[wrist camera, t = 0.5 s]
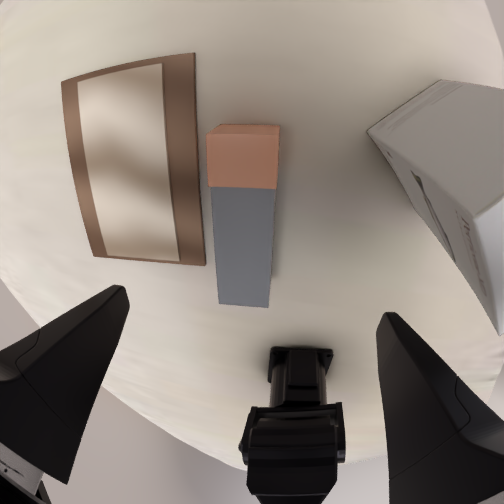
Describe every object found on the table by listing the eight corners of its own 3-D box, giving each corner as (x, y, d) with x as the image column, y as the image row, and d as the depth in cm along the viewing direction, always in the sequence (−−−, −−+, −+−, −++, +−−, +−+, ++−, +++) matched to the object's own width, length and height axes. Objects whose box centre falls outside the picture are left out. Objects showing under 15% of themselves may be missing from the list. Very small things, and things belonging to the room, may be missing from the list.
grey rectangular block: (272, 277, 24) (269, 309, 20) (226, 273, 24) (217, 305, 21) (279, 125, 17) (278, 135, 14) (220, 124, 17) (205, 134, 14)
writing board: (206, 263, 24) (204, 268, 23) (95, 254, 24) (92, 258, 24) (194, 53, 15) (191, 52, 14) (64, 81, 16) (58, 82, 15)
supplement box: (362, 130, 16) (470, 215, 6) (441, 77, 13) (588, 109, 3) (412, 212, 19) (497, 342, 9) (481, 163, 16) (594, 254, 5)
